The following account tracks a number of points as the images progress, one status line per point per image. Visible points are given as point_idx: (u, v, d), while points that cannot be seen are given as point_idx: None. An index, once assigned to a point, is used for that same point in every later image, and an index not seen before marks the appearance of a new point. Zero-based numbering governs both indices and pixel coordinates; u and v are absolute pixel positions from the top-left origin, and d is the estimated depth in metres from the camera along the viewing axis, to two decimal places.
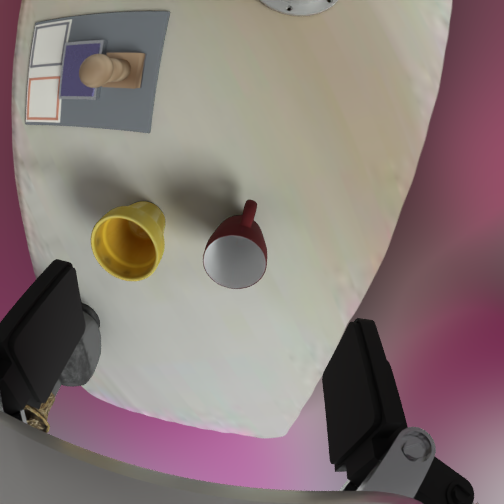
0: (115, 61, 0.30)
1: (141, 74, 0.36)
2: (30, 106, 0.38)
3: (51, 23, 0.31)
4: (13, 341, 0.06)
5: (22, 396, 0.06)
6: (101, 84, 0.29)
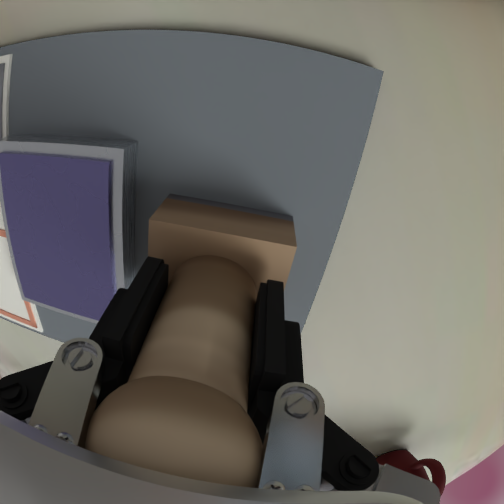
0: (236, 358, 0.08)
1: None
2: None
3: None
4: (128, 339, 0.07)
5: None
6: None
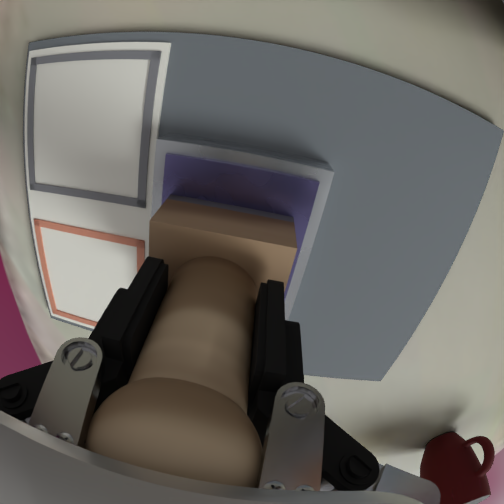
0: (236, 360, 0.08)
1: None
2: (55, 289, 0.17)
3: (84, 49, 0.10)
4: (128, 339, 0.07)
5: None
6: None
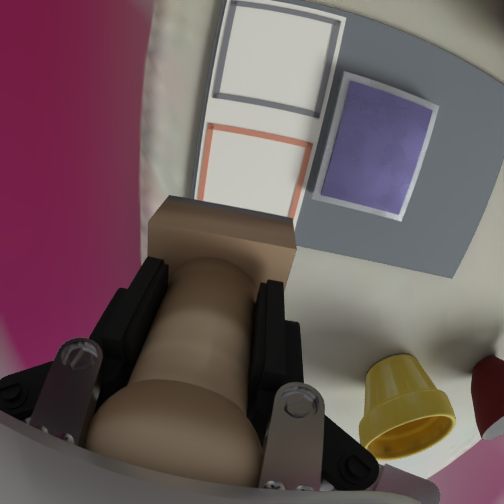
0: (236, 361, 0.08)
1: None
2: (209, 190, 0.23)
3: (282, 5, 0.16)
4: (128, 339, 0.07)
5: None
6: None
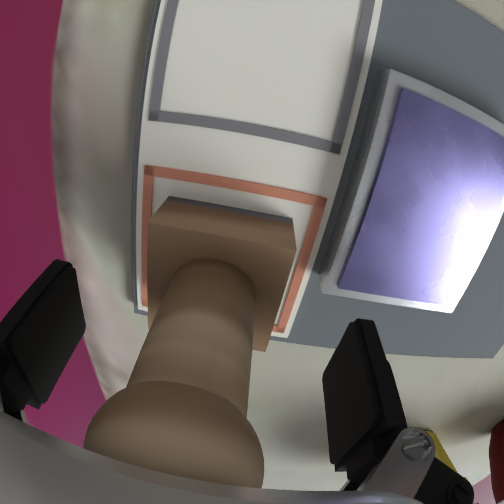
0: (236, 363, 0.08)
1: None
2: None
3: None
4: (13, 341, 0.06)
5: (22, 396, 0.06)
6: None
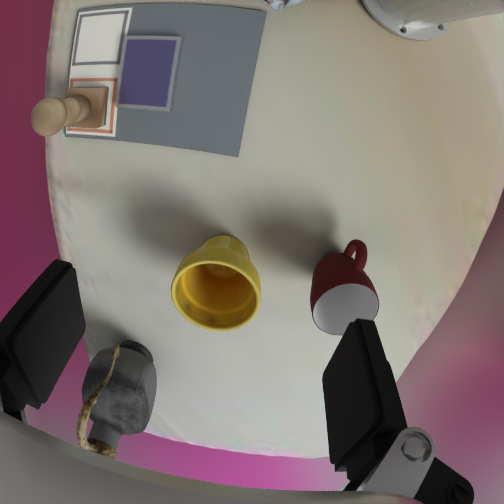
0: (70, 102, 0.27)
1: (104, 111, 0.33)
2: None
3: (102, 11, 0.27)
4: (13, 341, 0.06)
5: (22, 396, 0.06)
6: (55, 132, 0.26)
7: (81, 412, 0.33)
